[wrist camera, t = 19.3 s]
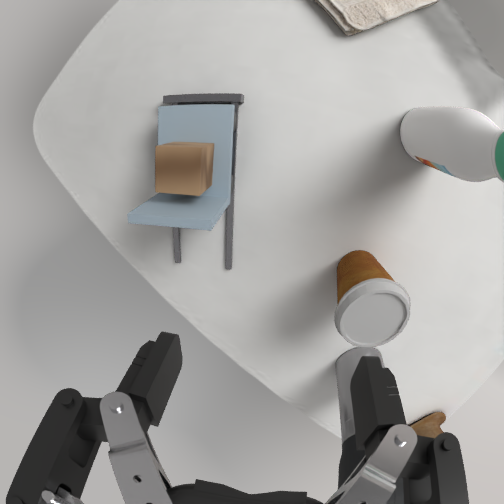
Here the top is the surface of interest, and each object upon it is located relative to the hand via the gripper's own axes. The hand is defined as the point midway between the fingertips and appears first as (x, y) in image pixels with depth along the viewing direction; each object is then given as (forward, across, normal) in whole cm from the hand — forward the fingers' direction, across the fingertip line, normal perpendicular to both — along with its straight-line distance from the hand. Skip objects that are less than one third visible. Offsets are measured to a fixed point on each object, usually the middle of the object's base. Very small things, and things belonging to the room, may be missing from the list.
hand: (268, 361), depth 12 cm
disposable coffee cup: (+28, -12, +10) cm, 32 cm away
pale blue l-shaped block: (+28, +11, -5) cm, 31 cm away
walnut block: (+24, +11, -4) cm, 26 cm away
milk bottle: (+28, -18, -11) cm, 35 cm away
